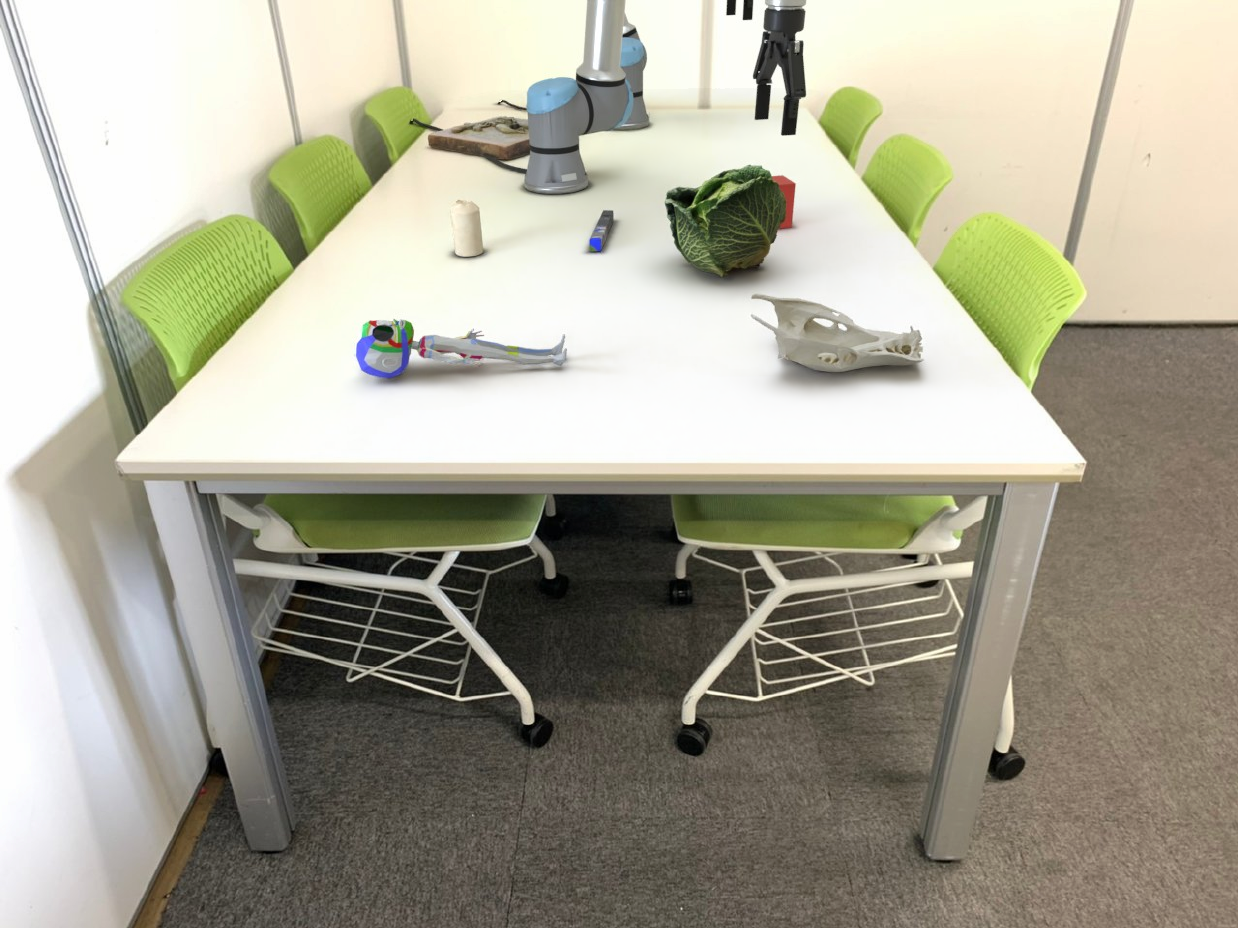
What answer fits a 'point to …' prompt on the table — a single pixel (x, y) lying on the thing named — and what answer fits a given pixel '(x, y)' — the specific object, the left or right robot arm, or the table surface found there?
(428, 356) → the toy
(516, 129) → the plaque
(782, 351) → the anatomical model
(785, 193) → the brick
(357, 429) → the table surface
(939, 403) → the table surface
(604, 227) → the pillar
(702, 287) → the table surface
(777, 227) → the vegetable
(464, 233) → the candle
